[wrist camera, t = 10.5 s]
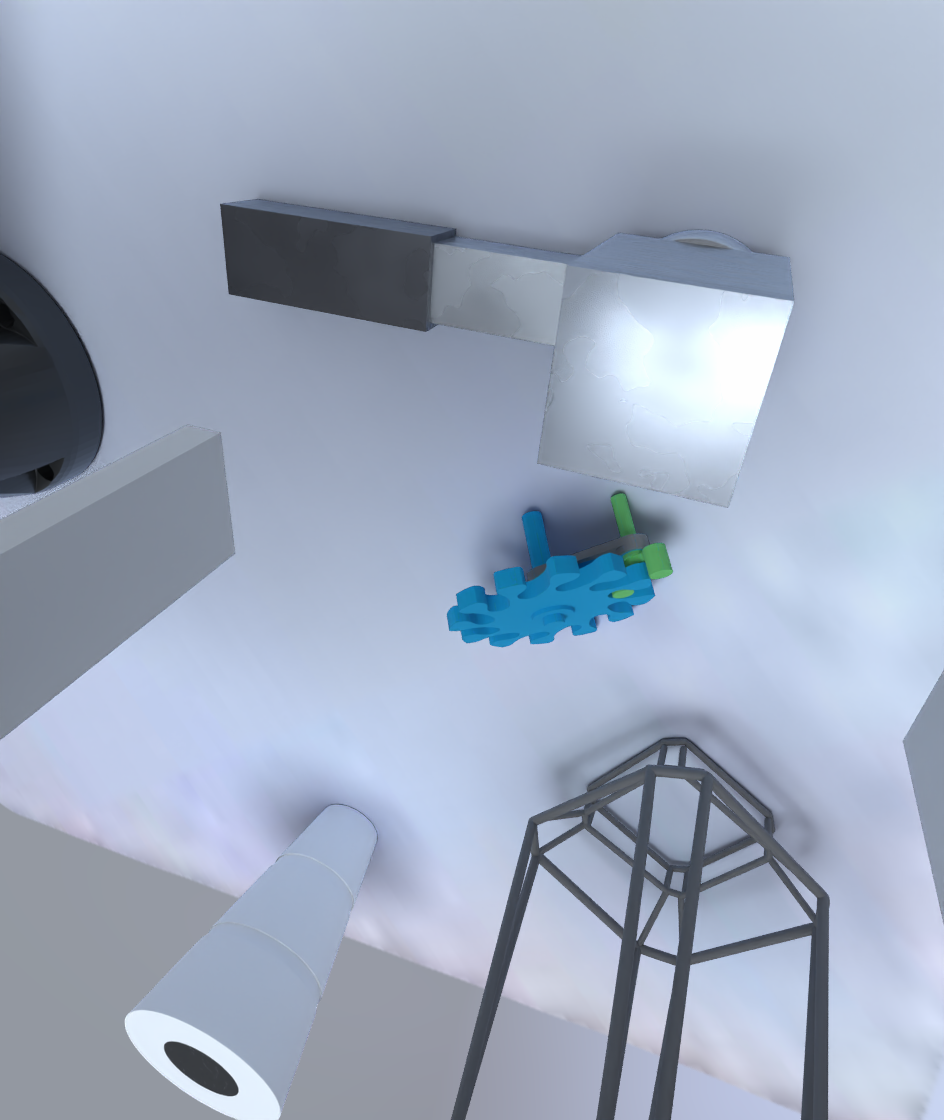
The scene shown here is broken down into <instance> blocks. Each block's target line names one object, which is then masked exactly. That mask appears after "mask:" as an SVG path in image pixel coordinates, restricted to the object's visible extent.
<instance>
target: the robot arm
mask: <svg viewBox="0 0 944 1120" xmlns="http://www.w3.org/2000/svg"><path fill="white" fill-rule="evenodd" d="M101 431H102V411H101V402H100V396H99V392H98V387H97V383H96V380H95V377H94V374H93V371H92V368H91V365H90V363H89V360H88V358H87V355H86V353H85V351H84V349H83V347H82V345H81V343H80V341H79V339H78V337H77V335H76V334H75V332H74V330H73V328H72V327H71V325H70V324H69V322H68V320H67V319H66V317H65V316H64V315H63V313H62V312H61V310H60V309H59V308H58V306H57V305H56V304H55V302H54V301H53V300H52V299H51V298H50V296H49V295H48V294H47V293H46V292H45V291H44V289H43V288H42V287H41V286H40V285H39V284H38V283H37V282H36V281H35V280H34V279H33V278H32V277H31V276H30V275H28V274H27V273H26V272H25V271H24V270H23V269H21V268H20V267H19V266H18V265H16V264H15V263H14V262H12V261H11V260H9V259H8V258H6V257H5V256H3V255H2V254H0V498H5V497H13V496H21V495H30V494H36V493H40V492H44V491H47V490H49V489H52V488H54V487H56V486H58V485H60V484H62V483H64V482H66V481H68V480H70V479H72V478H74V477H76V476H78V475H79V474H81V473H82V472H83V471H84V470H86V468H87V467H88V466H89V465H90V464H91V462H92V461H93V459H94V457H95V455H96V453H97V450H98V447H99V443H100V439H101ZM234 554H235V548H234V540H233V531H232V523H231V514H230V506H229V498H228V489H227V481H226V473H225V464H224V456H223V447H222V439H221V432H216V431H212V430H208V429H203V428H199V427H195V426H191V425H186V426H184V427H182V428H180V429H178V430H176V431H174V432H172V433H170V434H168V435H166V436H164V437H162V438H160V439H158V440H156V441H154V442H152V443H150V444H148V445H146V446H144V447H142V448H140V449H138V450H136V451H134V452H132V453H130V454H129V455H127V456H125V457H123V458H121V459H119V460H117V461H115V462H113V463H111V464H109V465H107V466H105V467H103V468H101V469H99V470H97V471H95V472H93V473H91V474H89V475H87V476H85V477H83V478H81V479H79V480H77V481H75V482H73V483H71V484H69V485H67V486H66V487H64V488H62V489H60V490H58V491H56V492H54V493H52V494H50V495H48V496H46V497H44V498H42V499H40V500H38V501H36V502H34V503H32V504H30V505H28V506H26V507H24V508H22V509H20V510H18V511H16V512H14V513H12V514H10V515H8V516H6V517H4V518H2V519H1V520H0V740H1V739H2V738H4V737H5V736H6V735H7V734H9V733H10V732H11V731H13V730H14V729H15V728H16V727H18V726H19V725H20V724H21V723H23V722H24V721H25V720H26V719H28V718H29V717H30V716H31V715H33V714H34V713H35V712H36V711H38V710H39V709H40V708H41V707H43V706H44V705H45V704H46V703H48V702H49V701H50V700H51V699H53V698H54V697H55V696H57V695H58V694H59V693H60V692H62V691H63V690H64V689H65V688H67V687H68V686H69V685H70V684H72V683H73V682H74V681H75V680H77V679H78V678H79V677H80V676H82V675H83V674H84V673H85V672H87V671H88V670H89V669H90V668H92V667H93V666H94V665H95V664H97V663H98V662H99V661H101V660H102V659H103V658H104V657H106V656H107V655H108V654H109V653H111V652H112V651H113V650H114V649H116V648H117V647H118V646H119V645H121V644H122V643H123V642H124V641H126V640H127V639H128V638H129V637H131V636H132V635H133V634H134V633H136V632H137V631H138V630H139V629H141V628H142V627H143V626H145V625H146V624H147V623H148V622H150V621H151V620H152V619H153V618H155V617H156V616H157V615H158V614H160V613H161V612H162V611H163V610H165V609H166V608H167V607H168V606H170V605H171V604H172V603H173V602H175V601H176V600H177V599H178V598H180V597H181V596H182V595H183V594H185V593H186V592H187V591H188V590H190V589H191V588H192V587H194V586H195V585H196V584H197V583H199V582H200V581H201V580H202V579H204V578H205V577H206V576H207V575H209V574H210V573H211V572H212V571H214V570H215V569H216V568H217V567H219V566H220V565H221V564H222V563H224V562H225V561H226V560H227V559H229V558H230V557H231V556H232V555H234ZM903 743H904V748H905V752H906V757H907V761H908V766H909V770H910V775H911V779H912V784H913V788H914V793H915V797H916V802H917V806H918V811H919V815H920V820H921V824H922V829H923V833H924V838H925V842H926V847H927V851H928V856H929V860H930V865H931V869H932V874H933V878H934V883H935V887H936V892H937V896H938V901H939V905H940V910H941V914H942V919H943V923H944V670H943V672H942V674H941V676H940V677H939V679H938V681H937V683H936V684H935V686H934V688H933V690H932V691H931V693H930V695H929V697H928V698H927V700H926V702H925V703H924V705H923V707H922V709H921V710H920V712H919V714H918V716H917V717H916V719H915V721H914V723H913V724H912V726H911V728H910V730H909V731H908V733H907V735H906V736H905V738H904V740H903Z"/></svg>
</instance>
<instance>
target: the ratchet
mask: <svg viewBox="0 0 944 1120" xmlns="http://www.w3.org/2000/svg"><path fill="white" fill-rule="evenodd" d="M220 206H221V217H222V227H223V238H224V248H225V259H226V270H227V280H228V291H229V294H231V295H236V296H241V297H247V298H252V299H257V300H262V301H268V302H273V303H278V304H283V305H289V306H294V307H299V308H304V309H309V310H315V311H320V312H325V313H330V314H336V315H341V316H346V317H351V318H357V319H362V320H367V321H372V322H378V323H383V324H388V325H393V326H398V327H404V328H409V329H414V330H419V331H425V332H426V331H428V330H430V329H432V328H433V327H435V326H437V325H439V324H440V325H445V326H450V327H456V328H461V329H466V330H472V331H477V332H482V333H488V334H493V335H498V336H504V337H509V338H514V339H520V340H525V341H530V342H536V343H541V344H546V345H552V346H555V340H556V334H557V327H558V320H559V314H560V307H561V300H562V294H563V287H564V280H565V274H566V267H567V265H568V264H570V263H571V262H573V261H575V260H576V259H578V258H579V257H581V256H580V255H574V254H567V253H561V252H554V251H548V250H541V249H535V248H528V247H522V246H515V245H508V244H502V243H495V242H489V241H482V240H476V239H469V238H463V237H456V236H455V234H456V229H453V228H447V227H440V226H433V225H427V224H420V223H413V222H407V221H400V220H394V219H387V218H380V217H374V216H367V215H360V214H354V213H347V212H340V211H334V210H327V209H320V208H314V207H307V206H301V205H294V204H287V203H281V202H274V201H267V200H261V199H254V200H247V201H239V202H231V203H223V204H220ZM661 239H666V240H673V241H680V242H687V243H694V244H701V245H708V246H715V247H721V248H728V249H735V250H742V251H749V252H752V251H751V250H750V249H749V248H748V247H747V246H745V245H744V244H743V243H741V242H740V241H738V240H736V239H735V238H733V237H731V236H728V235H726V234H723V233H720V232H715V231H711V230H687V231H682V232H677V233H674V234H671V235H668V236H665V237H663V238H661Z"/></svg>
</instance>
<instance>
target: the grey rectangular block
mask: <svg viewBox="0 0 944 1120" xmlns="http://www.w3.org/2000/svg"><path fill="white" fill-rule="evenodd" d="M793 304H794V293H793V284H792V275H791V265H790V257H784V256H777V255H770V254H763V253H756V252H749V251H742V250H735V249H728V248H721V247H715V246H708V245H701V244H694V243H687V242H680V241H673V240H666V239H659V238H652V237H645V236H639V235H632V234H625V233H617V234H616V235H614V236H612V237H611V238H609V239H608V240H606V241H604V242H603V243H601V244H600V245H598V246H597V247H595V248H593V249H592V250H590V251H589V252H587V253H586V254H584V255H582V256H581V257H579V258H578V259H576V260H575V261H573V262H571V263H570V264H568V265H567V267H566V274H565V280H564V287H563V294H562V300H561V307H560V314H559V320H558V327H557V334H556V340H555V347H554V354H553V361H552V367H551V374H550V381H549V387H548V394H547V401H546V407H545V414H544V421H543V427H542V434H541V441H540V447H539V454H538V461H537V464H541V465H546V466H550V467H554V468H559V469H563V470H567V471H571V472H576V473H580V474H584V475H589V476H593V477H597V478H602V479H606V480H610V481H614V482H619V483H623V484H627V485H632V486H636V487H640V488H645V489H649V490H653V491H658V492H662V493H666V494H670V495H675V496H679V497H683V498H688V499H692V500H696V501H701V502H705V503H709V504H714V505H718V506H722V507H726V508H728V507H729V504H730V501H731V498H732V495H733V492H734V488H735V485H736V482H737V479H738V476H739V473H740V470H741V467H742V463H743V460H744V457H745V454H746V451H747V448H748V445H749V442H750V439H751V435H752V432H753V429H754V426H755V423H756V420H757V417H758V414H759V410H760V407H761V404H762V401H763V398H764V395H765V392H766V389H767V385H768V382H769V379H770V376H771V373H772V370H773V367H774V364H775V361H776V357H777V354H778V351H779V348H780V345H781V342H782V339H783V336H784V332H785V329H786V326H787V323H788V320H789V317H790V314H791V311H792V307H793Z"/></svg>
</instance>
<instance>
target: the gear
mask: <svg viewBox="0 0 944 1120" xmlns="http://www.w3.org/2000/svg"><path fill="white" fill-rule="evenodd" d="M611 503H612V506H613V510H614V514H615V518H616V521H617V525H618V529H619V533H620V536H621V537H620V538H617V539H615V540H612V541H609V542H606V543H603V544H600V545H597V546H595V547H592V548H589V549H586V550H583V551H580V552H577V553H574V554H572V555H564V556H552V557H551V555H550V551H549V546H548V542H547V537H546V532H545V528H544V523H543V519H542V514H541V512H539V511H531V512H527V513H525V514H524V515H523V516H522V521H523V526H524V531H525V536H526V541H527V546H528V550H529V555H530V560H531V565H532V569H531V570H529V571H528V573H527V577H528V582H526V581H525V576H524V571H523V568H521V567H513V568H508V569H504V570H501V571H497V572H495V573H494V581H495V586H496V592H497V595H486V594H485V589H484V588H483V587H481V586H472V587H469V588H467V589H465V590H463V591H461V592H459V593H457V594H456V596H457V603H458V606H453V607H452V608H450V610H449V611H448V613H447V619H448V625H449V631H460V630H461V635H462V640H463V641H464V642H466V643H472V642H477V641H480V640H482V639H485V638H488V637H489V641H490V645H492V646H497V647H506V646H509V645H511V644H513V643H514V642H515V641H517V640H518V639H520V638H523V637H525V636H528V635H529V639H530V644H543V643H550V642H552V641H553V640H554V635H555V634H556V633H557V632H559V631H560V630H562V629H564V628H566V627H569V626H571V628H572V633H573V635H575V636H577V635H583V634H587V633H591V632H595V631H596V630H597V627H596V623H595V619H594V617H595V616H598V615H603V614H607V615H608V619H609V621H611V622H616V621H620V620H623V619H625V618H628V617H630V616H632V615H634V613H633V609H632V605H641V604H645V603H647V602H648V601H650V600H651V599H652V598H653V597H654V596H655V593H654V590H653V586H652V582H651V579H660V578H664V577H667V576H669V575H671V574H672V573H673V570H672V567H671V564H670V560H669V557H668V553H667V550H666V546H665V544H664V543H654V544H651V545H649V541H648V537H647V535H645V534H641V533H636V531H635V527H634V524H633V520H632V517H631V513H630V509H629V506H628V502H627V498H626V495H625V494H616V495H614V496H612V497H611ZM650 578H651V579H650Z"/></svg>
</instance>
